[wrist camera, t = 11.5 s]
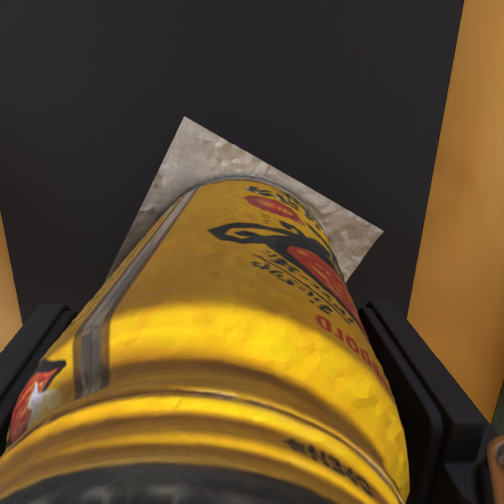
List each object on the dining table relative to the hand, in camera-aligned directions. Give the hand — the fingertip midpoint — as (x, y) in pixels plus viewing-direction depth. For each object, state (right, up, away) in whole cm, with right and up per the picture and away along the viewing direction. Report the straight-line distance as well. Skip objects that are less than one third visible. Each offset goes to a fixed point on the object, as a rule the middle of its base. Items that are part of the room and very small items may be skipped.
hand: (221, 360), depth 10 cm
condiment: (0, +2, +5) cm, 5 cm away
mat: (-1, +3, +7) cm, 8 cm away
